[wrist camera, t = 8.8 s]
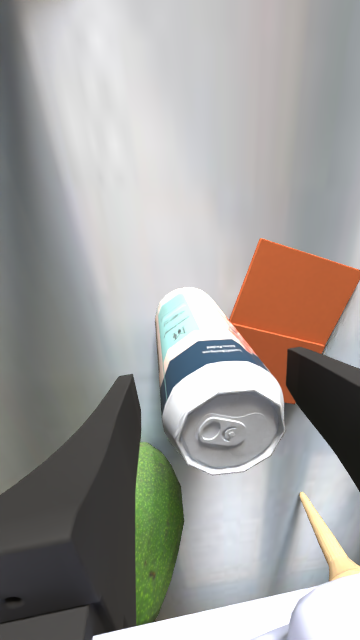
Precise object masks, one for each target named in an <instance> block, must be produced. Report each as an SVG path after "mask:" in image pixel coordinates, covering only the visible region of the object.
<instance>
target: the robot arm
mask: <svg viewBox="0 0 360 640" xmlns="http://www.w3.org/2000/svg"><path fill="white" fill-rule="evenodd" d="M286 386H287V388H288V390H289V392H290V394H291V395H292V397H293V399H294V400H295V402H296V404H297V405H298V406H299V407H300V409H301V410H302V411H303V413H304V414H305V415H306V417H307V418H308V419H309V420H310V422H311V423H312V424H313V425H314V427H315V428H316V429H317V430H318V432H319V433H320V434H321V435H322V437H323V438H324V439H325V440H326V442H327V443H328V444H329V446H330V447H331V448H332V450H333V451H334V452H335V454H336V455H337V457H338V458H339V460H340V461H341V463H342V464H343V466H344V467H345V469H346V471H347V472H348V474H349V475H350V477H351V478H352V480H353V482H354V483H355V485H356V486H357V488H358V490H359V491H360V369H359V368H356V367H353V366H351V365H348V364H345V363H343V362H340V361H338V360H335V359H332V358H330V357H327V356H325V355H322V354H320V353H317V352H315V351H312V350H309V349H306V348H303V347H295V348H289V349H287V369H286ZM140 439H141V409H140V404H139V400H138V395H137V391H136V386H135V382H134V377H133V374H130V375H124V376H119V377H118V378H117V380H116V381H115V383H114V384H113V386H112V387H111V389H110V390H109V391H108V393H107V394H106V396H105V397H104V398H103V400H102V401H101V403H100V404H99V405H98V407H97V408H96V409H95V411H94V412H93V413H92V414H91V415H90V417H89V418H88V419H87V420H86V421H85V423H84V424H83V425H82V426H81V427H80V428H79V429H78V430H77V432H76V433H75V434H74V435H73V436H72V437H71V438H70V439H69V440H68V441H67V442H66V443H65V444H63V445H62V446H61V447H60V448H59V449H58V450H57V451H56V452H55V453H53V454H52V455H51V456H50V457H49V458H48V459H47V460H46V461H44V462H43V463H42V464H41V465H40V466H38V467H37V468H36V469H35V470H33V471H32V472H31V473H30V474H28V475H27V476H26V477H24V478H23V479H22V480H20V481H19V482H18V483H17V484H15V485H14V486H12V487H11V488H10V489H8V490H7V491H5V492H4V493H2V494H1V495H0V640H360V573H358V574H354V575H349V576H345V577H341V578H338V579H336V580H333V581H330V582H327V583H324V584H322V585H319V586H315V587H311V588H306V589H302V590H297V591H293V592H288V593H284V594H279V595H275V596H270V597H266V598H261V599H257V600H252V601H248V602H243V603H239V604H234V605H230V606H225V607H221V608H216V609H212V610H207V611H203V612H198V613H194V614H189V615H185V616H180V617H176V618H171V619H167V620H162V621H158V622H153V623H149V624H144V625H140V626H137V623H136V574H135V492H136V478H137V468H138V459H139V449H140Z"/></svg>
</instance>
